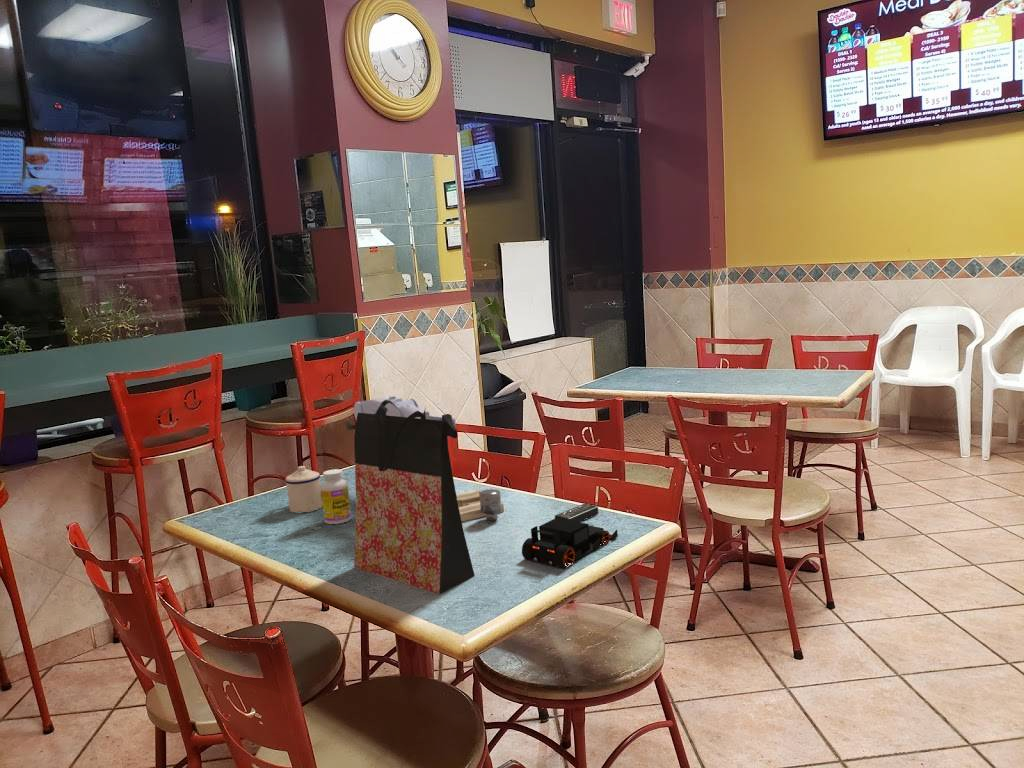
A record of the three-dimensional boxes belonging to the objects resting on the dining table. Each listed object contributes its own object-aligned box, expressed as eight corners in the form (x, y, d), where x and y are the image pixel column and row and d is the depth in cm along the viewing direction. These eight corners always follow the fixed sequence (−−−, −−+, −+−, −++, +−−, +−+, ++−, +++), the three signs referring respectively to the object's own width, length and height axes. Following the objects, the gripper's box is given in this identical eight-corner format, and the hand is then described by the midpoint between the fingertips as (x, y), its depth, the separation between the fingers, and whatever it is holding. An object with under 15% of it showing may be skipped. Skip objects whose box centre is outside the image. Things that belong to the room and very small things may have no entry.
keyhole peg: (478, 519, 185) (475, 492, 184) (496, 514, 187) (494, 488, 186) (487, 524, 180) (484, 497, 179) (505, 520, 182) (503, 492, 181)
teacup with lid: (330, 505, 206) (325, 464, 204) (303, 516, 199) (297, 472, 197) (303, 500, 213) (298, 460, 212) (276, 509, 207) (270, 468, 205)
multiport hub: (599, 515, 181) (598, 506, 181) (568, 528, 174) (568, 519, 174) (585, 512, 185) (584, 503, 184) (554, 525, 177) (553, 515, 177)
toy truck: (618, 540, 165) (616, 507, 163) (562, 572, 150) (560, 536, 149) (578, 532, 171) (576, 500, 170) (522, 562, 157) (519, 528, 155)
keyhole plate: (424, 508, 196) (423, 501, 196) (477, 496, 203) (476, 489, 203) (448, 525, 182) (447, 517, 182) (504, 511, 189) (503, 503, 188)
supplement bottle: (332, 527, 188) (326, 476, 186) (320, 522, 193) (313, 472, 191) (356, 519, 192) (350, 470, 190) (343, 514, 197) (337, 466, 195)
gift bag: (484, 570, 153) (468, 399, 147) (433, 597, 142) (413, 413, 137) (389, 545, 172) (372, 392, 167) (337, 567, 161) (317, 405, 156)
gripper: (389, 413, 187) (411, 429, 176) (443, 400, 194) (467, 415, 183) (392, 439, 190) (414, 457, 178) (445, 426, 196) (469, 442, 185)
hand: (441, 437), depth 181 cm, fingers open, 7 cm apart
